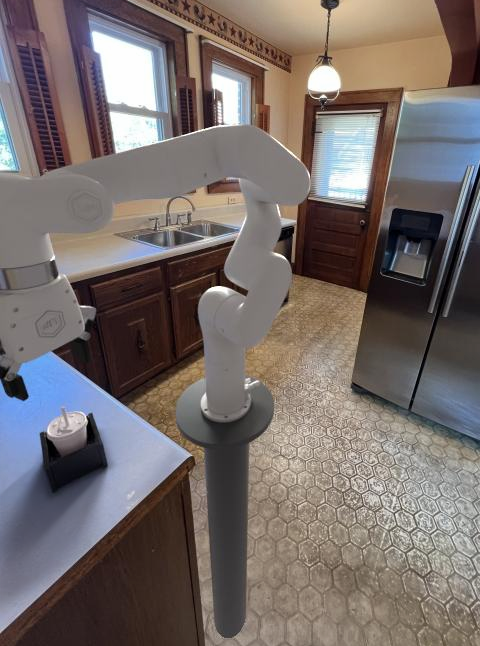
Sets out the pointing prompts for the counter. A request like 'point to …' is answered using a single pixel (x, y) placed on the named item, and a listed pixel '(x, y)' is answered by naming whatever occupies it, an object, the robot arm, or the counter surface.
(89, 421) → the bottle stand
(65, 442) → the smoothie
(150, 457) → the counter surface
